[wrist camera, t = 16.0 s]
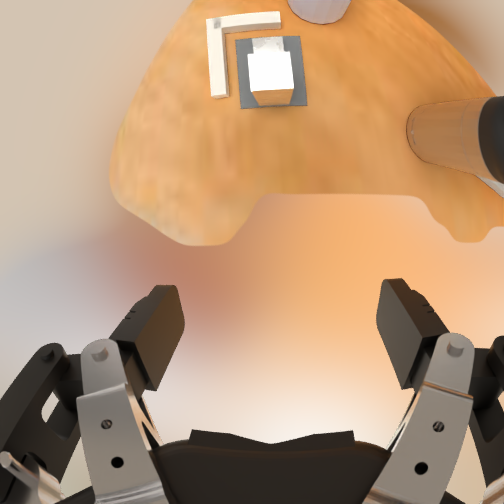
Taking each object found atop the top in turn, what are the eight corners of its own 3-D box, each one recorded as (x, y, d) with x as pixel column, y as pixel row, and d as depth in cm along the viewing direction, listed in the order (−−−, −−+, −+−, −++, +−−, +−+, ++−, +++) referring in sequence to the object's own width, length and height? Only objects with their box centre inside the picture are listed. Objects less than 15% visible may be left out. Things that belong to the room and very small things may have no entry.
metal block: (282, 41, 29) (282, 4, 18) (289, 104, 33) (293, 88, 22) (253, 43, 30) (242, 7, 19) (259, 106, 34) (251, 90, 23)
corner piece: (279, 18, 28) (279, 11, 26) (287, 92, 33) (288, 89, 30) (210, 25, 29) (206, 19, 27) (215, 98, 34) (211, 96, 32)
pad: (299, 36, 29) (299, 36, 29) (306, 105, 33) (307, 105, 33) (235, 40, 30) (235, 40, 30) (241, 108, 34) (241, 108, 34)
